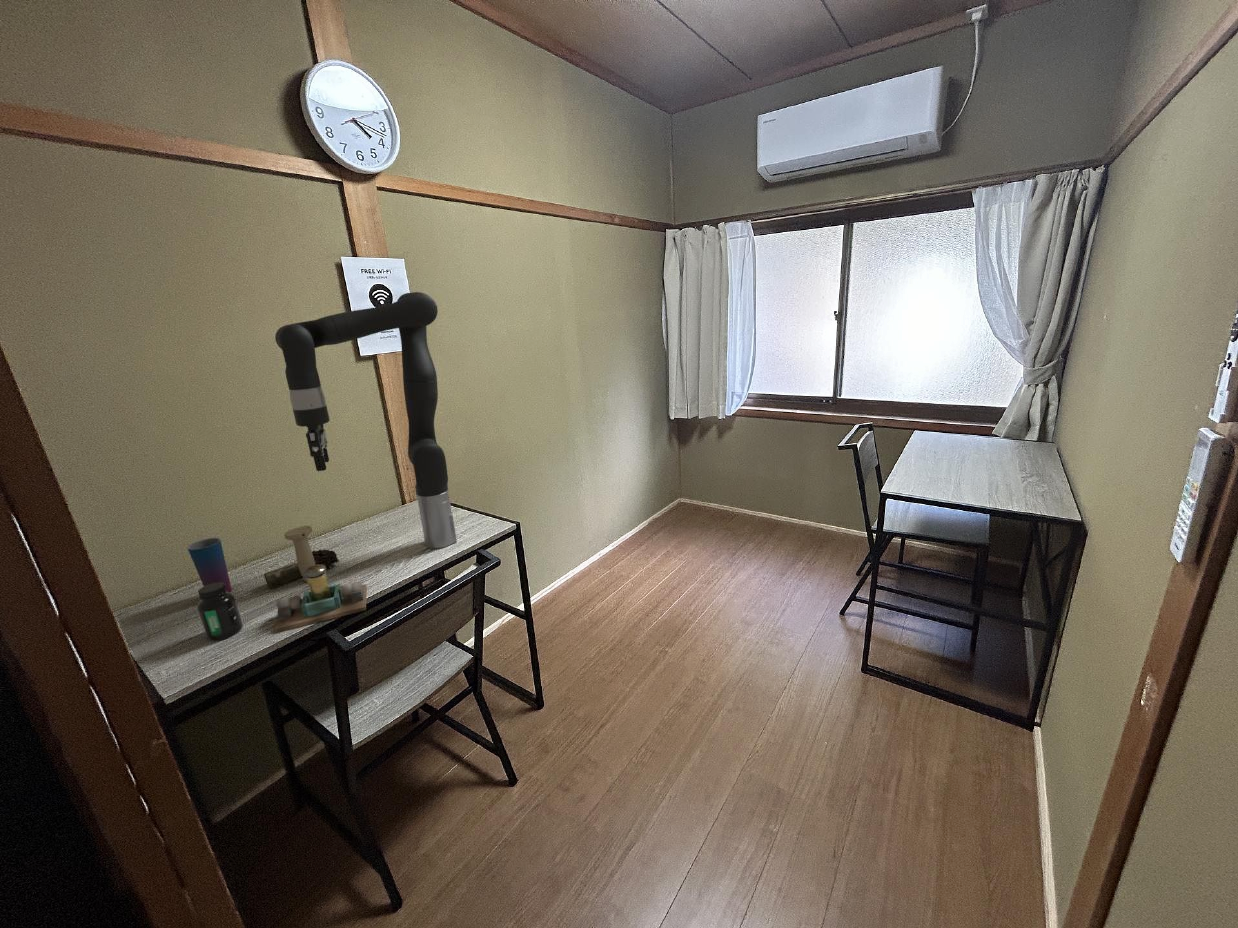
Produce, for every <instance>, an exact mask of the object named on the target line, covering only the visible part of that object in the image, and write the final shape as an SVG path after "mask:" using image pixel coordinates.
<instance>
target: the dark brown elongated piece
mask: <svg viewBox="0 0 1238 928" xmlns="http://www.w3.org/2000/svg"><path fill="white" fill-rule="evenodd" d="M311 551H312V554H313V557H314V560H315V565H320V564H321V565H325V566H326V570H331V567H332V565H334V564H335V563H339V562H340V560H339V559H338V557H337V556H338V555H337V554H336V551H334V550H329V549H318V550H311ZM263 577H264V580H265V582H266V584H267V587H268V588H269V590H272V589H274V588H276V587H279V586H281V585H283V584H286V583H288V582H291V581H294V580H295V579H298V578H301V577H303V576H302V575H301V573H300V570H299V567H298V563H297V562H295V563H292V564H290V565H286V566H283V567H280V568H277V569H274V570H271V571H268V572H265V573H263Z"/></svg>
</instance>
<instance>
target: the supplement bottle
mask: <svg viewBox="0 0 1238 928" xmlns="http://www.w3.org/2000/svg"><path fill="white" fill-rule="evenodd" d="M197 592H198V598H199V599H200V600H199V602H198V603H197V606H196V609H197V611H198V615H199V618H200V622H201V624H202V627H203V631H204V633H205V635H206V638H207V639H208V640H209V641H212V642H213V641H215V642H216V641H217V642H218V641H222V640H225V639H229V638H231V637H233V636H235V635H236V634H238V633H239V632H240V631H241V630H242V629H243V627H244V624H243V620H242V617H241V614H240V610H239V608H238V603H237V600H236V598H235V596H234V594H233V593H232V592H231V593H230V592H227V589H226V587H225V584H224V583H222V582H217V583H212V584H209V585H206V586H202V587H200V588H199V589H198V590H197Z"/></svg>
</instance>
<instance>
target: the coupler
mask: <svg viewBox="0 0 1238 928" xmlns="http://www.w3.org/2000/svg"><path fill="white" fill-rule="evenodd" d="M327 570H328V569H327ZM327 570H326V566H325V565H321V564H320V565H314V566H311V567H309V568H307V569H305V571H304V574H305V577H306V578H307V580H308V582H307V583H308V588H309V590H310V592H311V596H312V599H313V602H315V601H320V600H324V599H328V598H332V597H331V593H330V589H329V581H328V577H327Z"/></svg>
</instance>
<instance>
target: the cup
mask: <svg viewBox="0 0 1238 928" xmlns="http://www.w3.org/2000/svg"><path fill="white" fill-rule="evenodd" d="M187 551H188V553H189V555H190V558H191V559H192V562H193V565H194V567H195V569H196V571H197V574H198V575H199V579H200V581H201V583H202V587H204V586H206V585H209V584H212V583H217V582H222V583H224V584H225V587H226V589H227V592H230V593H232V585H231V582H230V576H229V571H228V568H227V562H226V559H225V558H226V557H225V554H224V550H223V545H222V541H221V538H220V537H209V538H204V539H200V540H196V541H194V542H192V543H190V544H189V545H188V546H187Z"/></svg>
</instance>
